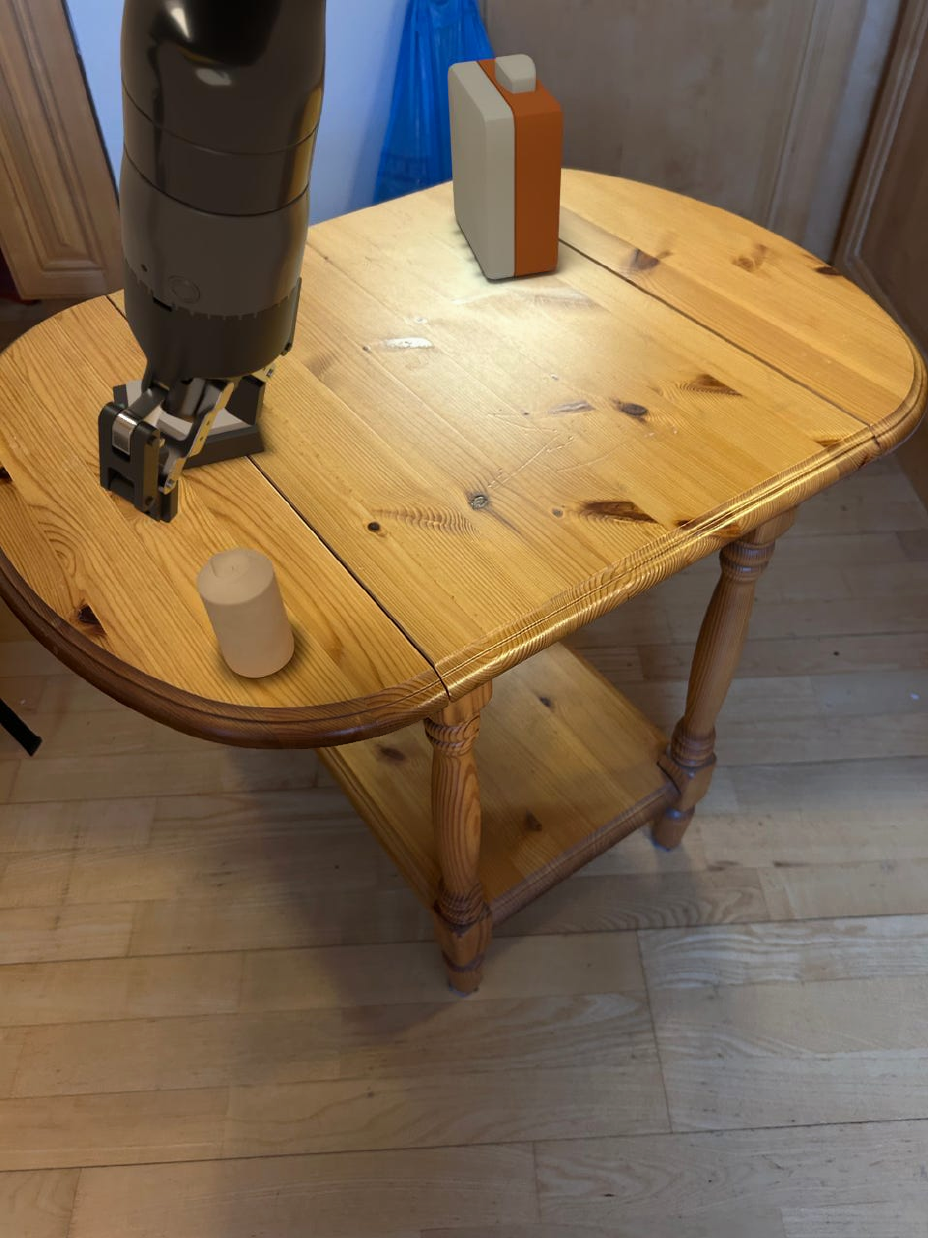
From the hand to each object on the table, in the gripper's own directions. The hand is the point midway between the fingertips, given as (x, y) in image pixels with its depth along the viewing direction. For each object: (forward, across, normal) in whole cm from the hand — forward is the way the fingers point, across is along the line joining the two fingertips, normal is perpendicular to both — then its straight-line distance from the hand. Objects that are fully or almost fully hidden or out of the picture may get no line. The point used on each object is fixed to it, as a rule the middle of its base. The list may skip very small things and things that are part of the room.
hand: (200, 461), depth 52 cm
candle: (+21, 0, +6) cm, 22 cm away
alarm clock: (+30, -68, 0) cm, 74 cm away
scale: (+32, -22, -14) cm, 41 cm away
